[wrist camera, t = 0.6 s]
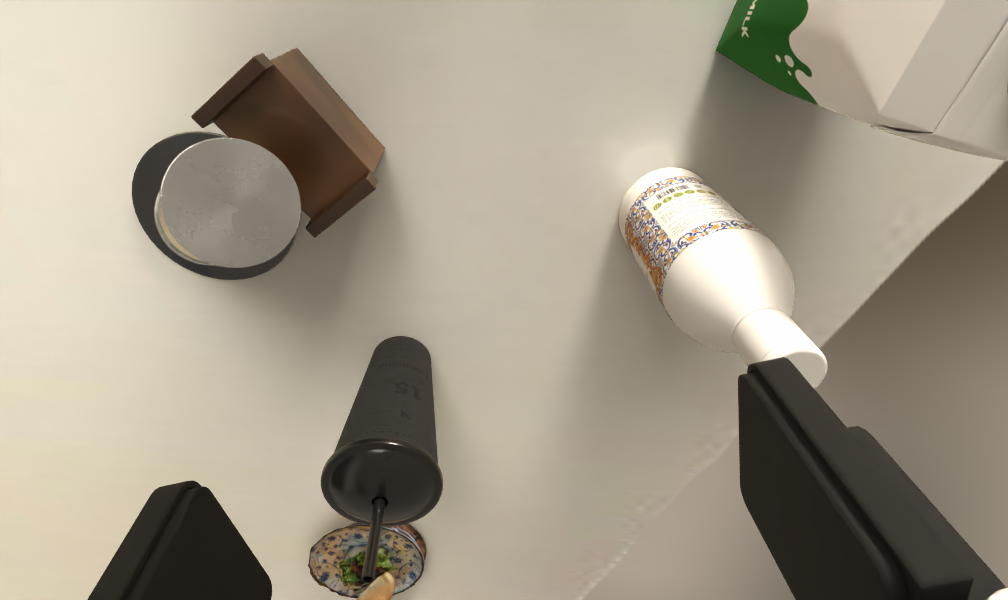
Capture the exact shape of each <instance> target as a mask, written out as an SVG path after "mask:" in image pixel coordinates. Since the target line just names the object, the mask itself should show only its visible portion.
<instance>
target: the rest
mask: <svg viewBox="0 0 1008 600" xmlns="http://www.w3.org/2000/svg"><path fill="white" fill-rule="evenodd" d="M191 117H192V119H193V120H194V121H195V122H197V123H198V124H199V125H200V126H201V127H202V128H204V127H206V126H208V125H209V124H211V123H212V122H214V123H215V124H216V125H217V126H218V127H219V128H220V129H221V130H222V131H223V132H224V133H225V134H226V135H227V136H228V137H229V138H237V139H242V140H246V141H249V142H252V143H255V144H257V145H259V146H261V147H263V148H265V149H267V150H268V151H270V152H271V153H272V154H274V155H275V156H276V157H277V158H278V159H279V160H281V162H282V163H283V164H284V165H285V166H286V167H287V169H288V170H289V171H290V173H291V174H292V176H293V178H294V180H295V182H296V185H297V187H298V190H299V194H300V199H301V209H302V210H303V211H304V212H305V213H306V214H307V215H308V216H309V217H310V218H311V220H310V221H309V223H308V224H307V226H306V228H305V229H306V230H307V231H308V232H309V233H310V234H311V235H312V236H313V237H316V236H318V235H319V234H320V233H321V232H323V231H324V230H325V229H326V228H328V227H329V226H330V225H331V224H333V223H334V222H335V221H336V220H338V219H339V218H340V217H341V216H343V215H344V214H345V213H346V212H348V211H349V210H350V209H351V208H353V207H354V206H355V205H356V204H358V203H359V202H360V201H361V200H363V199H364V198H365V197H366V196H368V195H369V194H370V193H371V192H373V191H374V190H375V189H376V187H377V184H378V182H379V180H378V179H377V178H376V177H375V176H374V175H373V173H374V171H375V169H376V167H377V164H378V162H379V160H380V158H381V155H382V153H383V151H384V149H385V148H384V147H383V146H382V145H381V143H380V142H379V141H378V140H377V139H376V138H375V137H374V135H373V134H372V133H371V132H370V131H369V130H368V129H367V127H366V126H365V125H364V124H363V123H362V122H361V121H360V119H359V118H358V117H357V116H356V115H355V114H354V112H353V111H352V110H351V109H350V108H349V107H348V106H347V104H346V103H345V102H344V101H343V100H342V99H341V98H340V96H339V95H338V94H337V93H336V92H335V91H334V90H333V88H332V87H331V86H330V85H329V84H328V83H327V82H326V80H325V79H324V78H323V77H322V76H321V75H320V74H319V72H318V71H317V70H316V69H315V68H314V67H313V66H312V64H311V63H310V62H309V61H308V60H307V59H306V58H305V56H304V55H303V54H302V53H301V52H300V51H299V50H298V48H295V49H293V50H291V51H289V52H287V53H285V54H283V55H281V56H279V57H277V58H275V59H272V60H269V59H268V58H267V57H266V56H265V55H264V54H263V53H261V54H259V55H257V56H254V57H253V58H252V59H251V60H250V61H249V62H247V63H246V64H245V65H244V66H243V67H242V68H241V69H240V70H239V71H238V72H237V73H236V74H235V75H234V76H233V77H232V78H231V79H230V80H229V81H228V82H227V83H225V84H224V85H223V86H222V87H221V88H220V89H219V90H218V91H217V92H216V93H215V94H214V95H213V96H212V97H211V98H210V99H209V100H208V101H207V102H206V103H205V104H203V105H202V106H201V107H200V108H199V109H198V110H197V111H196V112H195V113H194V114H193V115H192V116H191Z"/></svg>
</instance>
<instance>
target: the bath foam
mask: <svg viewBox="0 0 1008 600" xmlns="http://www.w3.org/2000/svg"><path fill="white" fill-rule="evenodd" d="M619 226H620V230H621V233H622V236H623V238H624V239H625V241H626V243H627V245H628V247H629V249H630V250H631V252H632V254H633V255H634V257H635V259H636V261H637V262H638V264H639V266H640V268H641V269H642V271H643V273H644V274H645V276H646V278H647V280H648V281H649V283H650V285H651V286H652V288H653V290H654V292H655V293H656V295H657V297H658V298H659V300H660V302H661V304H662V305H663V307H664V309H665V310H666V312H667V314H668V316H669V317H670V318H671V320H672V321H673V322H674V323H675V324H676V325H677V326H678V327H679V329H680V330H682V331H683V332H684V333H685V334H686V335H687V336H689V337H690V338H691V339H693V340H694V341H696V342H698V343H700V344H701V345H704V346H706V347H709V348H711V349H714V350H718V351H723V352H729V353H737V354H740V356H741V357H742V358H743V360H744V361H745V363H746V364H747V366H749V365H750V364H752V363H757V362H762V361H767V360H771V359H776V358H781V357H785V358H788V359H789V360H790V361H791V362H792V363H793V364H794V366H795V367H796V368H797V369H798V370H799V372H800V373H801V374H802V375H803V376H804V377H805V379H806V380H807V381H808V382H809V383H810V385H811V386H812V387H813V388H814V389H815V388H816V387H817V386H818V385H819V384H820V383H821V382H822V380H823V379H824V377H825V375H826V372H827V361H826V358H825V356H824V355H823V353H822V352H821V351H820V350H819V349H818V347H817V346H816V345H815V344H814V343H813V342H812V341H811V340H810V339H809V338H808V337H807V336H806V334H805V333H804V332H803V331H802V330H801V329H800V328H799V327H798V326H797V325H796V324H795V323H794V322H793V321H792V320H791V318H792V314H793V309H794V302H795V287H794V281H793V277H792V273H791V270H790V268H789V266H788V264H787V262H786V260H785V258H784V256H783V255H782V253H781V252H780V251H779V249H778V248H777V247H776V246H775V245H774V244H773V243H772V242H771V241H770V240H769V239H768V238H767V237H766V235H765V234H763V233H762V232H761V231H760V230H759V229H758V228H757V227H756V226H754V225H753V224H752V223H751V222H750V221H749V220H748V219H747V218H746V217H744V216H743V215H742V214H741V213H740V212H739V211H738V210H737V209H735V208H734V207H733V206H732V205H731V204H730V203H729V202H728V201H727V200H725V199H724V198H723V197H722V196H721V195H720V194H719V193H718V192H717V191H715V190H714V189H713V188H712V187H711V186H710V185H709V184H708V183H706V182H705V181H704V180H703V179H701V178H700V177H699V176H698V175H696V174H695V173H693V172H691V171H688V170H685V169H681V168H663V169H659V170H655V171H653V172H650V173H648V174H647V175H645V176H643V177H642V178H640V179H639V180H638V181H637V182H635V183H634V184H633V185H632V187H631V188H630V189H629V190H628V192H627V193H626V195H625V197H624V199H623V201H622V203H621V206H620V211H619Z"/></svg>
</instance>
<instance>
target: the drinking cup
mask: <svg viewBox="0 0 1008 600" xmlns="http://www.w3.org/2000/svg"><path fill="white" fill-rule="evenodd" d="M321 488H322V492H323V495H324V497H325V499H326V501H327V502H328V503H329V505H330V506H331V507H332V508H333V509H334V510H335V511H336V512H338V513H339V514H341V515H342V516H344V517H346V518H348V519H350V520H352V521H354V522H357V523H360V524H364V525H369V526H370V530H369V536H368V542H367V548H366V554H365V560H364V566H363V572H362V578H361V580H362V581H363V582H364V583H371V582H373V581H374V576H375V569H376V563H377V556H378V549H379V542H380V536H381V529H382V527H391V526H399V525H404V524H407V523H410V522H413V521H415V520H418V519H420V518H421V517H423V516H425V515H426V514H427V513H429V512H430V511H431V510H432V509H433V508H434V507H435V505H436V504H437V502H438V501H439V499H440V497H441V494H442V489H443V477H442V473H441V470H440V468H439V466H438V459H437V444H436V430H435V415H434V400H433V385H432V370H431V358H430V354H429V352H428V350H427V349H426V347H425V346H424V345H423V344H422V343H420V342H419V341H417V340H415V339H413V338H410V337H404V336H397V337H392V338H389V339H386V340H384V341H383V342H381V343H380V344H379V345H378V346H377V347H376V349H375V351H374V353H373V356H372V358H371V361H370V363H369V366H368V368H367V371H366V373H365V376H364V378H363V381H362V383H361V386H360V388H359V391H358V393H357V396H356V398H355V401H354V404H353V406H352V409H351V411H350V414H349V416H348V419H347V421H346V424H345V426H344V429H343V431H342V434H341V436H340V439H339V441H338V444H337V446H336V449H335V452H334V454H333V455H332V456H331V457H330V458H329V459H328V461H327V462H326V464H325V466H324V469H323V472H322V476H321Z"/></svg>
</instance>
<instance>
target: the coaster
mask: <svg viewBox="0 0 1008 600" xmlns="http://www.w3.org/2000/svg"><path fill="white" fill-rule="evenodd" d="M222 137H225V138H229V137H227V136H224V135H221V134H216V133H210V132H185V133H181V134H176V135H173V136H170V137H168V138H166V139H164V140H162V141H160V142H158V143H157V144H155V145H154V146H153V147H152V148H150V149H149V150H148V151H147V152H146V153H145V155H144V156H143V157H142V158H141V160H140V162H139V163H138V165H137V168H136V170H135V173H134V177H133V182H132V198H133V204H134V208H135V212H136V215H137V217H138V219H139V222H140V224H141V226H142V227H143V229H144V231H145V232H146V234H147V235H148V237H149V238H150V239H151V241H152V242H153V243H154V244H155V245H156V246H157V247H158V248H159V249H160V250H161V251H162V252H163V253H164V254H165V255H166V256H168V257H169V258H170V259H172V260H173V261H174V262H176V263H178V264H179V265H181V266H183V267H184V268H187V269H189V270H191V271H193V272H195V273H198V274H201V275H204V276H208V277H211V278H217V279H224V280H238V279H246V278H251V277H255V276H258V275H261V274H263V273H265V272H267V271H269V270H270V269H272V268H273V267H275V266H276V265H277V264H278V263H279V262H280V261H281V260H282V259H283V258H284V257H285V256H286V254H287V253H288V251H289V249H290V248H291V246H292V244H293V241H294V238H295V235H296V233H295V235H294V237H293V238H292V240H291V241H290V243H289V244H288V245H287V246H286V247H285V249H284V250H282V251H281V252H280V253H279V254H278V255H276V256H275V257H273V258H272V259H270V260H268V261H266V262H264V263H261V264H258V265H255V266H250V267H242V268H229V267H222V266H217V265H215V266H213V265H203V264H198V263H194V262H191V261H189V260H187V259H184V258H183V257H181V256H179V255H178V254H176V253H175V252H174V251H173V250H172V249H171V248H169V247H168V246H167V244H166V243H165V242H164V241H163V239H162V237H161V236H160V234H159V232H158V229H157V227H156V223H155V217H154V207H155V201H156V198H157V195H158V193H159V191H160V188H161V183H162V180H163V177H164V174H165V172H166V170H167V169H168V167H169V165H170V164H171V163H172V161H173V160H174V159H175V158H176V157H177V156H178V155H179V154H180V153H181V152H182V151H184V150H185V149H186V148H188V147H190V146H192V145H194V144H196V143H198V142H201V141H204V140H208V139H212V138H222Z"/></svg>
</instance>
